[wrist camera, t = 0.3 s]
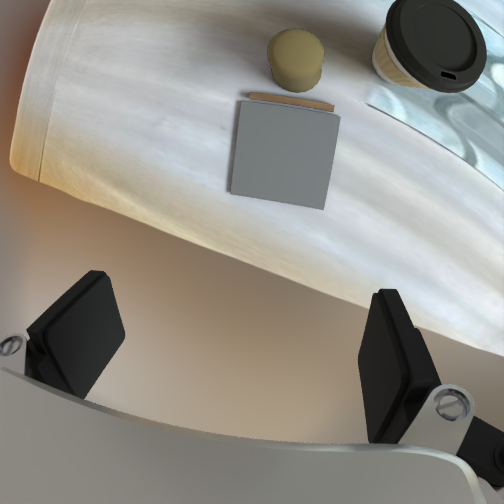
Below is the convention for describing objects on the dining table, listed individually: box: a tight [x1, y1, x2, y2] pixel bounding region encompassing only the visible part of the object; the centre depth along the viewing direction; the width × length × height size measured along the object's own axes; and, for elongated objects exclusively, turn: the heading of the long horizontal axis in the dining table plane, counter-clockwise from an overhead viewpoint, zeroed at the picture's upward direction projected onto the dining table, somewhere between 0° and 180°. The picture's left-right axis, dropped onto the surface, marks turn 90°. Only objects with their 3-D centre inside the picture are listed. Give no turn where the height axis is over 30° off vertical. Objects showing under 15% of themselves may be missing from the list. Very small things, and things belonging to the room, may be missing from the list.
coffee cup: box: [372, 0, 487, 93], centre depth 22 cm, size 10×10×15 cm
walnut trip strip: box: [249, 92, 335, 112], centre depth 33 cm, size 1×10×1 cm, turn 83°
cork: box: [267, 28, 324, 93], centre depth 27 cm, size 6×6×11 cm
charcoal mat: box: [230, 101, 341, 210], centre depth 36 cm, size 12×12×1 cm
